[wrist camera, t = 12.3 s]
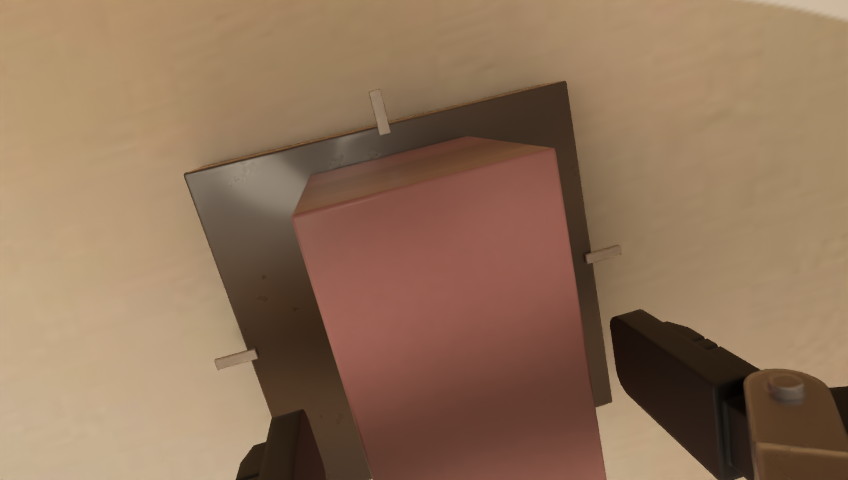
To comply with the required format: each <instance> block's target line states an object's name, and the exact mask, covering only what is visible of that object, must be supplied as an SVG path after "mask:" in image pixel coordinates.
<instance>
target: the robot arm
mask: <svg viewBox="0 0 848 480" xmlns="http://www.w3.org/2000/svg"><path fill="white" fill-rule="evenodd" d="M610 329H611V336H612V343H613V350H614V358H615V365H616V371H617V375H618V378H619V381H620V383H621V385H622V387H623V389H624V390H625V392H626V393H627V394H628V395H629V396H630V397H631V398H632V399H633V400H634V401H635V402H636V403H637V404H638V405H639V406H640V407H641V408H642V409H644V410H645V411H646V412H647V413H648V414H649V415H650V416H651V417H652V418H653V419H654V420H655V421H656V422H657V423H658V424H659V425H660V426H662V427H663V428H664V429H665V430H666V431H667V432H668V433H669V434H670V435H671V436H672V437H673V438H674V439H675V440H676V441H677V442H678V443H680V444H681V445H682V446H683V447H684V448H685V449H686V450H687V451H688V452H689V453H690V454H691V455H692V456H693V457H694V458H695V459H696V460H698V461H699V462H700V463H701V464H702V465H703V466H704V467H705V468H706V469H707V470H708V471H709V472H710V473H711V474H712V475H713V476H714V477H715V478H717V479H718V480H735V479H738V478H741V477H745V478H746V479H747V480H848V386H846V387H834V388H828V387H827V386H826V384H824V383H823V382H822V381H820V380H819V379H817V378H815V377H813V376H811V375H808V374H805V373H802V372H798V371H794V370H788V369H765V370H760V369H758V368H756V367H755V366H753V365H751V364H750V363H748V362H746V361H744V360H743V359H741V358H739V357H738V356H736V355H734V354H733V353H731V352H729V351H727V350H726V349H724V348H722V347H721V346H720V347H718V346H717V344H716V343H714V342H712V341H711V340H709V339H705V338H704V336H702V335H700V334H699V333H697V332H695V331H694V330H692V329H690V328H688V327H685V326H682V325H678V324H674V323H671V322H661V321H660V320H658V319H657V318H655V317H653V316H652V315H650V314H649V313H647V312H645V311H644V310H641V309H639V310H636V311H632V312H629V313H625V314H622V315H619V316H615V317H613V318H612V319H611V321H610ZM236 480H326V473H325V469H324V465H323V461H322V458H321V455H320V452H319V449H318V446H317V443H316V440H315V437H314V434H313V431H312V428H311V426H310V423H309V420H308V417H307V414H306V412H305V411H304V410H303V409H301V410H297V411H294V412H290V413H287V414H284V415H280V416H277V417H274V418H272V420H271V423H270V428H269V432H268V437H267V441H266V442H264V443H261V444H257V445H254V446H253V447H252V449H251V450H250V451H249V453H248V454H247V455H246V457H245V458H244V459H243V461H242V462H241V464H240V467H239V471H238V474H237V477H236Z"/></svg>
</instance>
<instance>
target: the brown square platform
mask: <svg viewBox="0 0 848 480" xmlns="http://www.w3.org/2000/svg"><path fill="white" fill-rule="evenodd" d="M369 94H370V98H371V102H372V106H373V110H374V114H375V118H376V122H377V125H373V126H369V127H365V128H360V129H356V130H352V131H348V132H344V133H340V134H336V135H332V136H327V137H323V138H319V139H315V140H311V141H307V142H303V143H299V144H295V145H290V146H286V147H282V148H278V149H274V150H270V151H266V152H262V153H257V154H253V155H249V156H245V157H241V158H237V159H233V160H229V161H225V162H220V163H216V164H212V165H208V166H204V167H200V168H197V169H195V170H192V171H189V172H186V173H185V174H184V178H185V180H186V183H187V186H188V188H189V191H190V194H191V197H192V199H193V202H194V205H195V208H196V210H197V213H198V216H199V219H200V221H201V224H202V227H203V230H204V232H205V235H206V238H207V240H208V243H209V246H210V249H211V251H212V254H213V257H214V260H215V262H216V265H217V268H218V271H219V273H220V276H221V279H222V282H223V284H224V287H225V290H226V293H227V295H228V298H229V301H230V303H231V306H232V309H233V312H234V314H235V317H236V320H237V323H238V325H239V328H240V331H241V334H242V336H243V339H244V342H245V345H246V347H247V350H246V351H242V352H239V353H235V354H232V355H228V356H225V357H221V358H218V359H215V361H214V362H215V364H216V367H217V370H220V369H223V368H227V367H230V366H233V365H237V364H240V363H244V362H247V361H252V364H253V366H254V369H255V372H256V375H257V377H258V380H259V383H260V386H261V388H262V391H263V394H264V397H265V399H266V402H267V405H268V408H269V410H270V413H271V416H272V418H274V417H277V416H280V415H284V414H287V413H290V412H294V411H297V410H301V409H303V410H304V411H305V412H306V414H307V417H308V420H309V423H310V426H311V428H312V431H313V434H314V437H315V440H316V443H317V446H318V449H319V452H320V455H321V458H322V461H323V465H324V469H325V473H326V480H371V479H372V476H371V473H370V470H369V467H368V463H367V460H366V457H365V454H364V451H363V447H362V444H361V441H360V438H359V435H358V431H357V428H356V425H355V422H354V419H353V415H352V412H351V409H350V406H349V403H348V399H347V396H346V393H345V390H344V387H343V383H342V380H341V377H340V374H339V371H338V368H337V364H336V361H335V358H334V355H333V352H332V348H331V345H330V342H329V339H328V336H327V332H326V329H325V326H324V323H323V320H322V316H321V313H320V310H319V307H318V304H317V300H316V297H315V294H314V291H313V288H312V284H311V281H310V278H309V275H308V272H307V268H306V265H305V262H304V259H303V256H302V252H301V249H300V246H299V243H298V240H297V236H296V233H295V230H294V227H293V224H292V220H291V217H292V214H293V212H294V210H295V207H296V205H297V203H298V201H299V199H300V197H301V194H302V192H303V190H304V188H305V186H306V183H307V181H308V179H309V177H310V176H311V175H313V174H317V173H321V172H325V171H329V170H333V169H337V168H341V167H345V166H349V165H353V164H357V163H361V162H365V161H369V160H373V159H377V158H381V157H385V156H389V155H393V154H397V153H401V152H405V151H409V150H413V149H417V148H421V147H425V146H429V145H433V144H437V143H441V142H445V141H449V140H453V139H457V138H461V137H465V136H470V137H477V138H484V139H492V140H499V141H506V142H514V143H521V144H528V145H535V146H543V147H550V148H554V149H555V151H556V157H557V163H558V170H559V176H560V183H561V189H562V196H563V202H564V209H565V215H566V221H567V228H568V234H569V241H570V247H571V254H572V260H573V267H574V273H575V279H576V286H577V292H578V299H579V305H580V312H581V318H582V325H583V331H584V337H585V344H586V350H587V357H588V363H589V370H590V376H591V383H592V389H593V395H594V402H595V408H596V407H599V406H602V405H605V404H608V403H611V402H612V396H611V389H610V383H609V376H608V369H607V362H606V355H605V348H604V341H603V334H602V327H601V320H600V313H599V306H598V299H597V292H596V285H595V278H594V271H593V264H592V263H593V262H596V261H600V260H603V259H607V258H610V257H614V256H617V255H621V254H622V253H621V246H620V245H615V246H612V247H608V248H605V249H601V250H598V251H594V252H591V250H590V243H589V236H588V229H587V222H586V216H585V209H584V202H583V195H582V188H581V181H580V174H579V167H578V160H577V153H576V146H575V139H574V132H573V125H572V118H571V111H570V104H569V97H568V90H567V83H566V81H559V82H553V83H547V84H542V85H537V86H533V87H529V88H525V89H521V90H517V91H513V92H509V93H504V94H500V95H496V96H492V97H488V98H484V99H480V100H476V101H472V102H467V103H463V104H459V105H455V106H451V107H447V108H443V109H439V110H434V111H430V112H426V113H422V114H418V115H414V116H410V117H406V118H402V119H397V120H393V121H389V122H388V120H387V116H386V112H385V107H384V103H383V99H382V95H381V91H380V89H379V90H375V91H371V92H369Z"/></svg>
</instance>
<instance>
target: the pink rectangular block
mask: <svg viewBox="0 0 848 480" xmlns="http://www.w3.org/2000/svg"><path fill="white" fill-rule="evenodd" d="M291 220H292V224H293V227H294V230H295V233H296V236H297V240H298V243H299V246H300V249H301V252H302V256H303V259H304V262H305V265H306V268H307V272H308V275H309V278H310V281H311V284H312V288H313V291H314V294H315V297H316V300H317V304H318V307H319V310H320V313H321V316H322V320H323V323H324V326H325V329H326V332H327V336H328V339H329V342H330V345H331V348H332V352H333V355H334V358H335V361H336V364H337V368H338V371H339V374H340V377H341V380H342V383H343V387H344V390H345V393H346V396H347V399H348V403H349V406H350V409H351V412H352V415H353V419H354V422H355V425H356V428H357V431H358V435H359V438H360V441H361V444H362V447H363V451H364V454H365V457H366V460H367V463H368V467H369V470H370V473H371V476H372V479H373V480H607V479H606V473H605V466H604V460H603V454H602V447H601V441H600V434H599V428H598V421H597V415H596V408H595V402H594V395H593V389H592V383H591V376H590V370H589V363H588V357H587V350H586V344H585V337H584V331H583V325H582V318H581V312H580V305H579V299H578V292H577V286H576V279H575V273H574V267H573V260H572V254H571V247H570V241H569V234H568V228H567V221H566V215H565V209H564V202H563V196H562V189H561V183H560V176H559V170H558V163H557V157H556V151H555V149H554V148H550V147H543V146H535V145H528V144H521V143H514V142H506V141H499V140H492V139H484V138H477V137H470V136H465V137H461V138H457V139H453V140H449V141H445V142H441V143H437V144H433V145H429V146H425V147H421V148H417V149H413V150H409V151H405V152H401V153H397V154H393V155H389V156H385V157H381V158H377V159H373V160H369V161H365V162H361V163H357V164H353V165H349V166H345V167H341V168H337V169H333V170H329V171H325V172H321V173H317V174H313V175H311V176H310V177H309V179H308V181H307V183H306V186H305V188H304V190H303V192H302V194H301V197H300V199H299V201H298V203H297V205H296V207H295V210H294V212H293V214H292V217H291Z"/></svg>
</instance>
